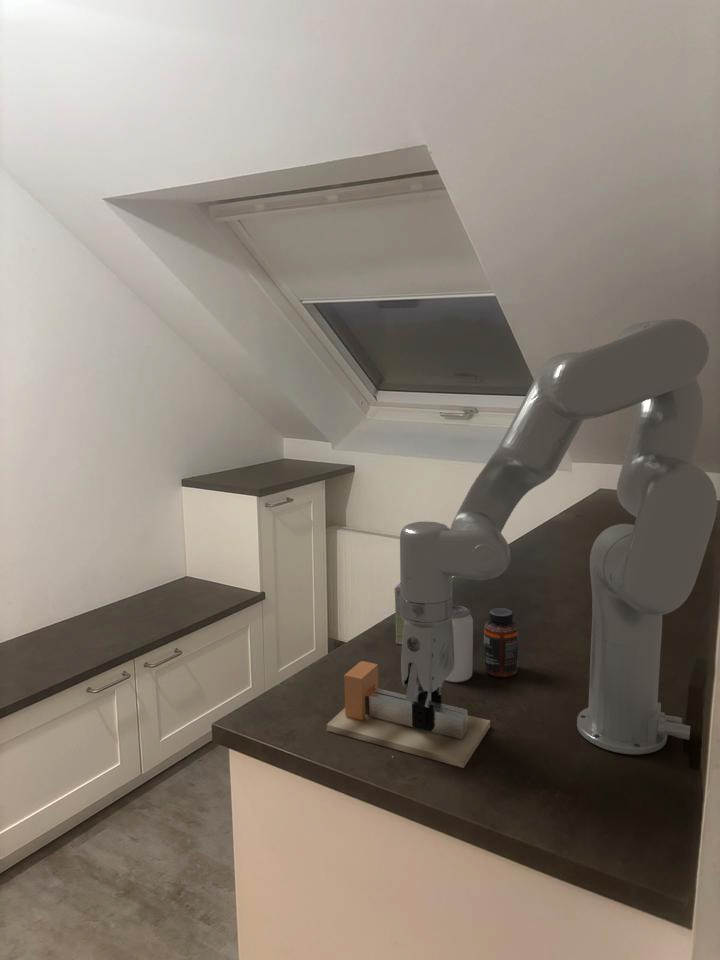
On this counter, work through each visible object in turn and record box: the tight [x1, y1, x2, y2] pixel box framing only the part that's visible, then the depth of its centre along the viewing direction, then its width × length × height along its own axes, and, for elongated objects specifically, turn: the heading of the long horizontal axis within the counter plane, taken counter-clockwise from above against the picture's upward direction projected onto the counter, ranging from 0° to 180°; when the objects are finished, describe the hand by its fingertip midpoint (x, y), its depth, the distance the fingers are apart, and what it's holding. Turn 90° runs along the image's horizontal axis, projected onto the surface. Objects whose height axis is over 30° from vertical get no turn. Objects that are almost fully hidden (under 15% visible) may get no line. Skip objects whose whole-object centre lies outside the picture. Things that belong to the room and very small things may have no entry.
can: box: [444, 605, 474, 683], centre depth 121 cm, size 6×6×12 cm
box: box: [394, 583, 404, 646], centre depth 139 cm, size 10×6×12 cm, turn 159°
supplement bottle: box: [483, 607, 519, 678], centre depth 122 cm, size 6×6×11 cm
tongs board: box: [326, 696, 491, 769], centre depth 105 cm, size 22×12×4 cm, turn 62°
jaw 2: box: [374, 687, 468, 735], centre depth 104 cm, size 15×1×3 cm, turn 61°
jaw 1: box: [369, 692, 464, 739], centre depth 103 cm, size 15×1×3 cm, turn 62°
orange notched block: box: [343, 660, 379, 720], centre depth 108 cm, size 3×6×7 cm, turn 152°
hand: (426, 722), depth 103 cm, fingers open, 2 cm apart
